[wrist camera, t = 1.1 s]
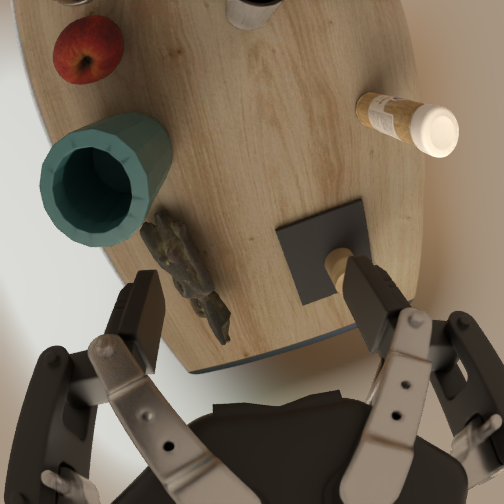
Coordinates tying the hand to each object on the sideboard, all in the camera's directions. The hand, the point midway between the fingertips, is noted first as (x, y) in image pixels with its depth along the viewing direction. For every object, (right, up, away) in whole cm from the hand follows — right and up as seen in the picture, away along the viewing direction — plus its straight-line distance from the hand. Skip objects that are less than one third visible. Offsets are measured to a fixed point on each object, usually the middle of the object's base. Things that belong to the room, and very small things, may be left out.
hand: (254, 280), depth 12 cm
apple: (-17, +23, +11) cm, 30 cm away
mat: (+11, +1, +28) cm, 30 cm away
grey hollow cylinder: (-1, +26, +11) cm, 28 cm away
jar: (-14, +12, +18) cm, 26 cm away
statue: (-8, -1, +27) cm, 28 cm away
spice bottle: (+14, +18, +18) cm, 29 cm away
